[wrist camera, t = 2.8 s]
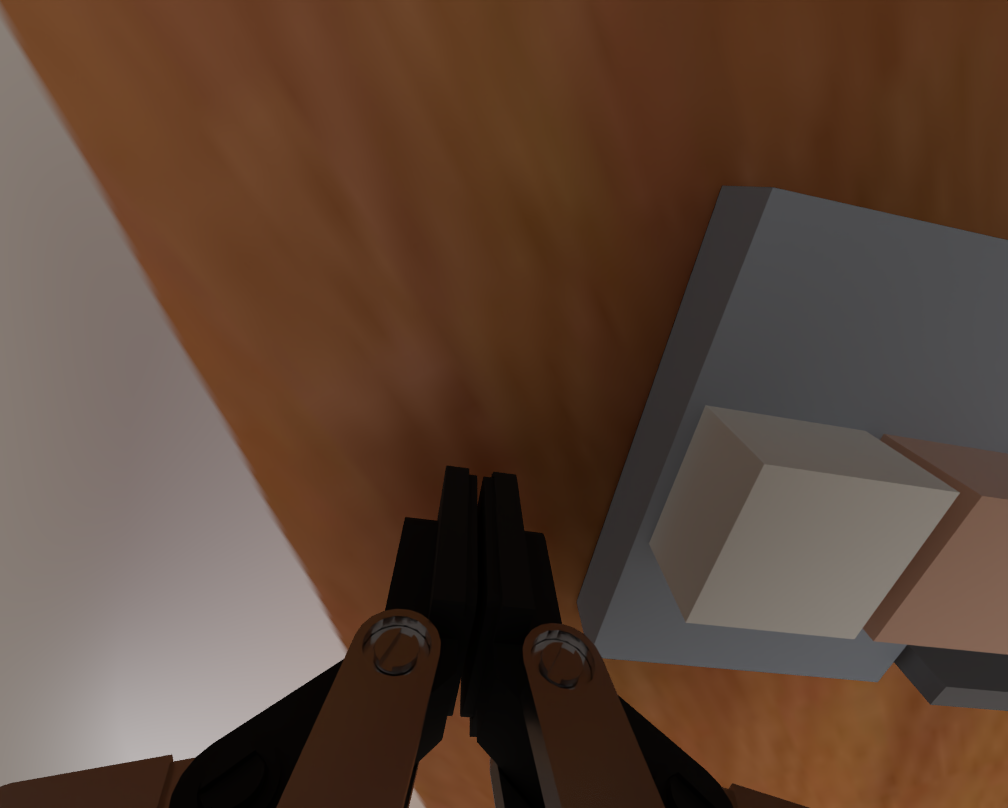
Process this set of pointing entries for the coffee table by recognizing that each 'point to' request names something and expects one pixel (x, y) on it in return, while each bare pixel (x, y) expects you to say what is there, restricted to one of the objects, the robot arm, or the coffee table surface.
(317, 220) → the coffee table surface
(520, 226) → the coffee table surface
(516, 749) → the robot arm
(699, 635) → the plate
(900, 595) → the tile
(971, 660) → the box
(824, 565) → the tile
